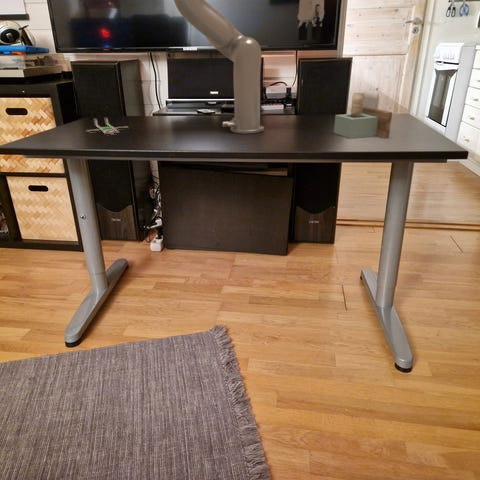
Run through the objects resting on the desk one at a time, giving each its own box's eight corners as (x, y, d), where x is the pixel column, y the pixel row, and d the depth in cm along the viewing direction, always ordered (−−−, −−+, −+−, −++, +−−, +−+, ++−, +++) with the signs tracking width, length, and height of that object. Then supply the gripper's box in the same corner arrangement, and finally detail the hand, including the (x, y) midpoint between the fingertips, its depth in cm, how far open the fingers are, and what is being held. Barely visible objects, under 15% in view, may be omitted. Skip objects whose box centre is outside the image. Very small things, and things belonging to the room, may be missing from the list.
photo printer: (376, 122, 162) (381, 90, 157) (374, 124, 159) (378, 91, 154) (351, 121, 167) (354, 89, 161) (348, 122, 164) (351, 90, 158)
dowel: (352, 132, 135) (356, 94, 130) (347, 130, 138) (350, 93, 133) (362, 131, 136) (366, 94, 130) (356, 129, 139) (360, 92, 134)
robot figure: (81, 128, 167) (90, 137, 149) (79, 120, 165) (88, 128, 148) (121, 124, 173) (134, 132, 156) (120, 116, 172) (133, 124, 154)
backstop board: (334, 146, 126) (337, 117, 123) (307, 135, 142) (309, 109, 138) (388, 141, 132) (392, 112, 128) (356, 131, 148) (359, 105, 144)
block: (349, 138, 132) (351, 119, 129) (333, 132, 140) (335, 115, 138) (376, 135, 135) (378, 117, 132) (358, 130, 143) (360, 113, 140)
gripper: (335, -21, 128) (331, 39, 136) (309, -14, 143) (307, 40, 151) (314, -22, 126) (311, 39, 134) (290, -14, 141) (288, 40, 149)
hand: (308, 40), depth 142 cm, fingers open, 9 cm apart
